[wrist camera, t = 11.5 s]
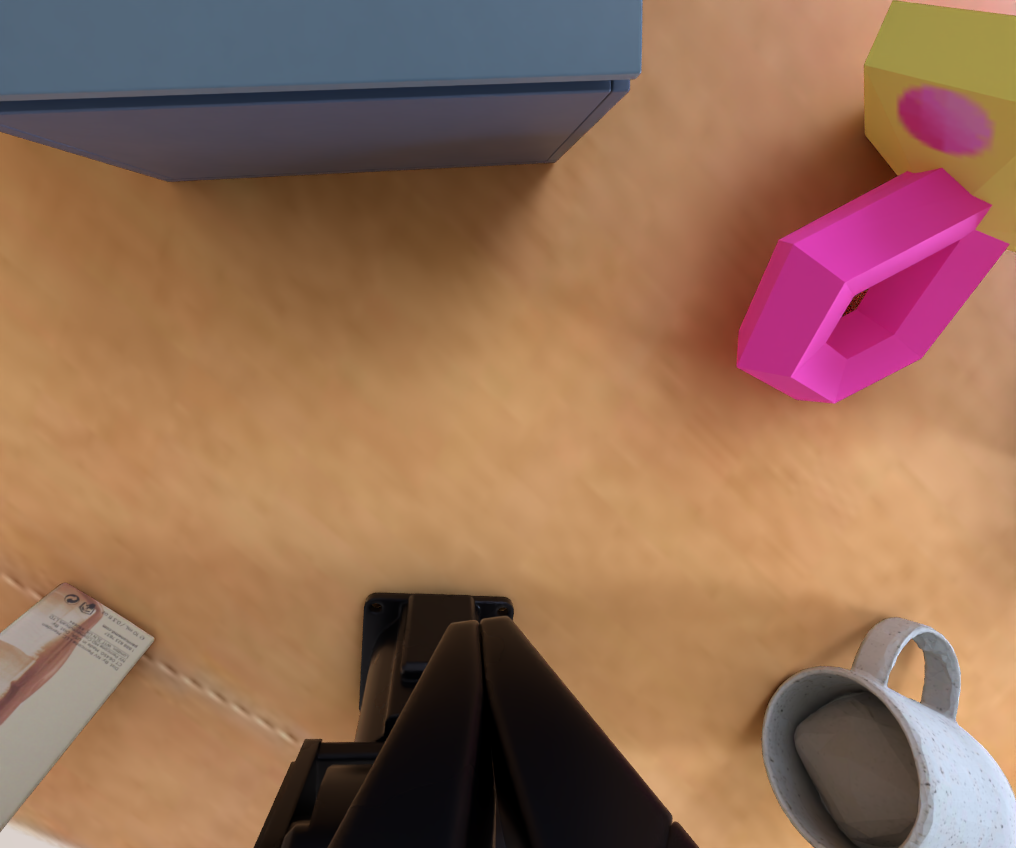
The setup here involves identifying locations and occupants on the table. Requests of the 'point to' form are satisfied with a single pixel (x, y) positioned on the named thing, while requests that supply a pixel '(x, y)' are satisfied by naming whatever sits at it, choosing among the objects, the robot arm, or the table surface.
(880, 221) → the toy
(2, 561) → the table surface
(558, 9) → the flap
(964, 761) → the ceramic mug
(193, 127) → the carton
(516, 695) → the robot arm
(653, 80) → the table surface
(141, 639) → the printed product box
